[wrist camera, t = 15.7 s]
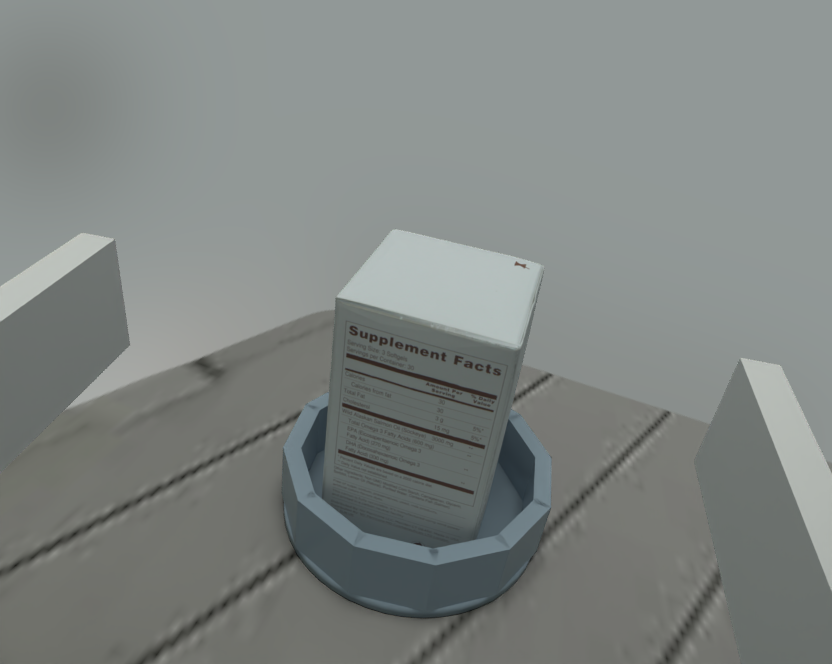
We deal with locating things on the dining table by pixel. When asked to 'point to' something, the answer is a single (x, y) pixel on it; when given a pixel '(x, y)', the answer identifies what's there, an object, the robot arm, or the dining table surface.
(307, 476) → the bowl
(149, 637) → the dining table surface
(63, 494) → the dining table surface
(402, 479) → the supplement box
